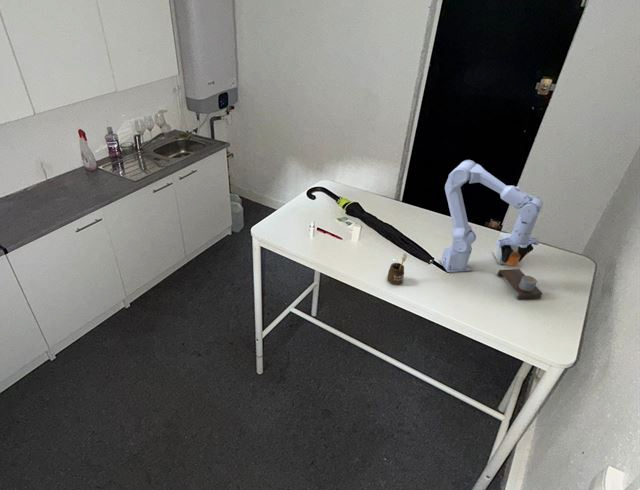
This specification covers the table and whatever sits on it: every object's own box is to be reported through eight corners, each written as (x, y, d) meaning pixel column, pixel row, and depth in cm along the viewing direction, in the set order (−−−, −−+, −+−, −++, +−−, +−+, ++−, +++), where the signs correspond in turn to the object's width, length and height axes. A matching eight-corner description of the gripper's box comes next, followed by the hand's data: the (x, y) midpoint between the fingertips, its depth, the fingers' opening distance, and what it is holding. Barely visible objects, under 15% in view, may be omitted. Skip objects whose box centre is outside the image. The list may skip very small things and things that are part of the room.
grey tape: (523, 292, 149) (526, 283, 147) (516, 283, 153) (519, 275, 150) (536, 291, 149) (539, 283, 147) (528, 283, 153) (532, 275, 150)
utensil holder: (384, 278, 163) (388, 254, 156) (396, 274, 165) (401, 249, 158) (393, 286, 159) (398, 261, 152) (406, 282, 161) (411, 257, 154)
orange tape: (507, 266, 151) (510, 257, 148) (500, 258, 155) (503, 250, 152) (520, 265, 151) (523, 257, 148) (512, 258, 155) (516, 249, 152)
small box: (513, 265, 167) (521, 243, 161) (498, 263, 168) (506, 242, 162) (507, 254, 173) (515, 233, 167) (493, 253, 174) (500, 232, 168)
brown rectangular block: (518, 299, 149) (520, 294, 148) (497, 275, 162) (499, 269, 160) (539, 298, 149) (542, 292, 148) (516, 273, 162) (519, 268, 160)
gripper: (508, 237, 141) (497, 268, 149) (549, 234, 141) (536, 265, 149) (497, 226, 147) (487, 257, 155) (537, 224, 147) (524, 255, 155)
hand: (510, 260), depth 152 cm, fingers closed on orange tape, 5 cm apart
